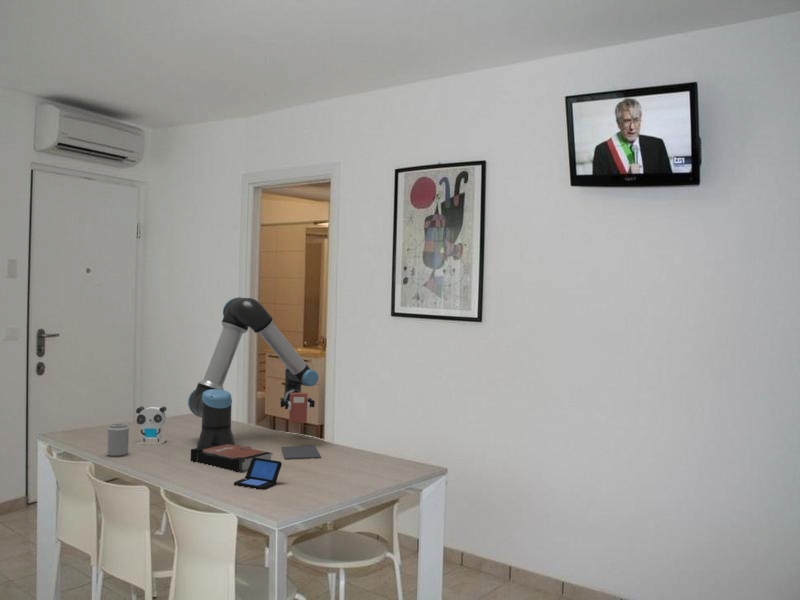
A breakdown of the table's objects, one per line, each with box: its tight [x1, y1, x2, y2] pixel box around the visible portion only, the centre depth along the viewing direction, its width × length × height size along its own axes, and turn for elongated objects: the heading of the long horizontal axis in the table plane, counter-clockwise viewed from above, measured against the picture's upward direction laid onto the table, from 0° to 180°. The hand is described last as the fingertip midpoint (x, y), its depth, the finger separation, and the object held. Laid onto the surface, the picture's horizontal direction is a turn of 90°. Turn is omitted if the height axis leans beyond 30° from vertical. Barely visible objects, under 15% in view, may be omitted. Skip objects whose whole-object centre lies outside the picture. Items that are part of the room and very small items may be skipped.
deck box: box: [288, 392, 309, 424], centre depth 285 cm, size 4×7×12 cm, turn 104°
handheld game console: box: [233, 458, 282, 490], centre depth 227 cm, size 12×11×7 cm
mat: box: [280, 445, 322, 460], centre depth 272 cm, size 20×14×1 cm
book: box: [190, 444, 274, 473], centre depth 255 cm, size 26×18×5 cm
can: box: [107, 422, 130, 457], centre depth 263 cm, size 8×8×12 cm
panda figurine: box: [135, 406, 167, 442], centre depth 286 cm, size 12×11×15 cm
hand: (299, 406), depth 280 cm, fingers closed on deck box, 7 cm apart
